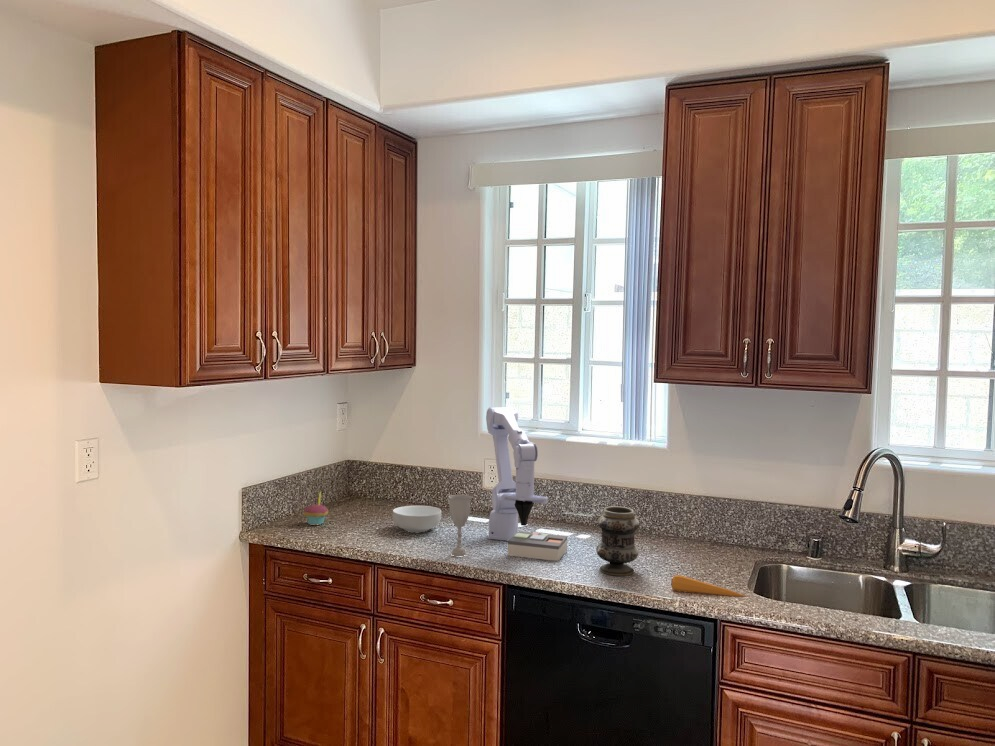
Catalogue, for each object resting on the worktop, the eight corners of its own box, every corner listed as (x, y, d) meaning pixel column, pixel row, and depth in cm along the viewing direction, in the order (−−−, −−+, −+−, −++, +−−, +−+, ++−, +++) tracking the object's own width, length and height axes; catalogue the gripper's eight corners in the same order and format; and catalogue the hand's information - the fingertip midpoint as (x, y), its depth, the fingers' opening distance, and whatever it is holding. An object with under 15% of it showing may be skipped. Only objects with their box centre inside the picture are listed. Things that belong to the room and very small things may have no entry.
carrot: (669, 594, 197) (671, 580, 195) (671, 583, 200) (672, 570, 199) (747, 609, 192) (750, 596, 190) (747, 598, 196) (750, 584, 194)
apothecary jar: (638, 578, 206) (639, 515, 205) (594, 575, 208) (596, 512, 207) (637, 565, 218) (639, 505, 217) (596, 563, 220) (598, 503, 219)
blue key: (529, 545, 228) (529, 537, 228) (533, 541, 232) (533, 534, 232) (542, 546, 226) (542, 539, 226) (546, 543, 230) (546, 535, 230)
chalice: (474, 553, 227) (475, 495, 227) (466, 559, 221) (467, 500, 220) (452, 550, 230) (453, 493, 229) (443, 556, 223) (444, 498, 223)
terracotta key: (545, 550, 226) (546, 542, 226) (549, 546, 230) (549, 539, 230) (559, 551, 225) (559, 544, 225) (562, 548, 229) (562, 540, 229)
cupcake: (317, 520, 265) (317, 487, 264) (333, 524, 260) (333, 490, 259) (298, 524, 258) (298, 491, 257) (314, 528, 253) (314, 494, 253)
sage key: (513, 543, 229) (513, 536, 229) (517, 540, 233) (517, 532, 233) (526, 544, 228) (526, 537, 228) (530, 541, 232) (530, 534, 232)
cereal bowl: (450, 532, 251) (450, 512, 251) (406, 539, 242) (406, 518, 242) (426, 521, 265) (426, 502, 265) (384, 528, 256) (384, 507, 256)
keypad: (507, 555, 226) (507, 540, 226) (518, 545, 237) (518, 530, 237) (558, 560, 221) (558, 545, 221) (567, 550, 232) (567, 535, 232)
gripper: (498, 482, 228) (498, 525, 229) (544, 486, 224) (543, 530, 224) (505, 478, 235) (504, 520, 235) (549, 481, 230) (548, 524, 231)
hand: (523, 524), depth 230 cm, fingers closed
